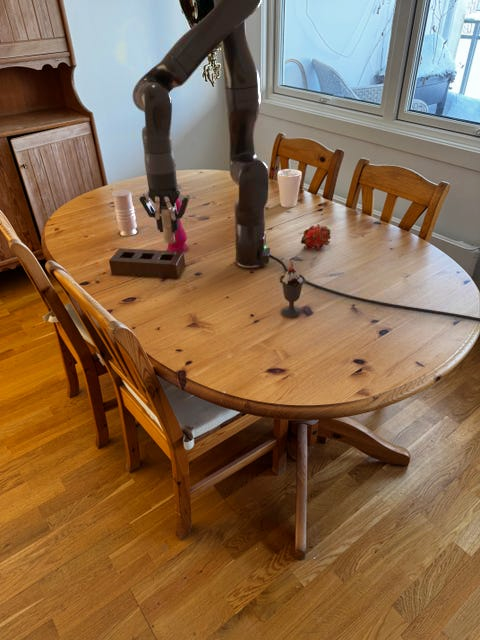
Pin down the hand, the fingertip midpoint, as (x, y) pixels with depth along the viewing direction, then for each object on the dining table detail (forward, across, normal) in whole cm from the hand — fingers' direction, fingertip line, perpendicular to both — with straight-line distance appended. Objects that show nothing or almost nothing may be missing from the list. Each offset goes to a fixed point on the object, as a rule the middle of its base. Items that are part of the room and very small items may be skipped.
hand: (168, 231), depth 128 cm
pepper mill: (+18, -6, +23) cm, 30 cm away
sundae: (+18, +35, -10) cm, 40 cm away
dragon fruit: (+18, +40, +30) cm, 53 cm away
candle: (+18, -28, +35) cm, 48 cm away
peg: (+3, 0, 0) cm, 3 cm away
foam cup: (+18, +28, +69) cm, 77 cm away
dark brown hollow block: (+17, -11, +8) cm, 22 cm away
